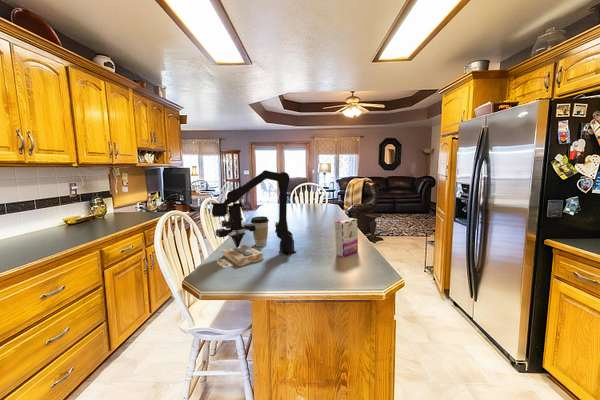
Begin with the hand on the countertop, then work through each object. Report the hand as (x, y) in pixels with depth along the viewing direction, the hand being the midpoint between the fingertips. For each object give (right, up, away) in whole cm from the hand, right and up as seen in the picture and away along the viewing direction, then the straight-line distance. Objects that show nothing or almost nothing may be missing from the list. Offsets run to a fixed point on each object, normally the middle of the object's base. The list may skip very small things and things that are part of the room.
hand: (237, 247), depth 133 cm
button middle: (+3, -2, -4) cm, 6 cm away
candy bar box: (+53, -3, -3) cm, 53 cm away
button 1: (0, -3, 0) cm, 3 cm away
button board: (+4, -4, -4) cm, 7 cm away
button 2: (+7, -3, -8) cm, 11 cm away
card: (-3, -5, -11) cm, 13 cm away
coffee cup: (+9, -2, +16) cm, 19 cm away
